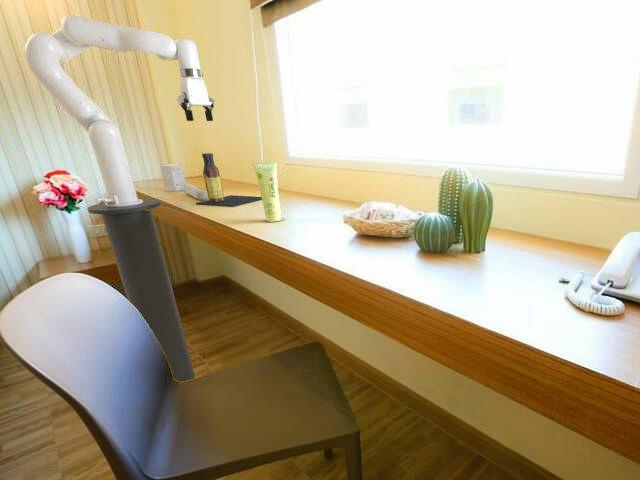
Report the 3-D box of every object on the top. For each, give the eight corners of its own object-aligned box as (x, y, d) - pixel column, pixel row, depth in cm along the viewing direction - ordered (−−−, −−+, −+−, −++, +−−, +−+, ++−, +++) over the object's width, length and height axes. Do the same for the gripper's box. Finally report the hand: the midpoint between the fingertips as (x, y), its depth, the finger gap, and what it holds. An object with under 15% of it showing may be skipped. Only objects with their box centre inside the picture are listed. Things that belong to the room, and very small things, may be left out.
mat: (232, 206, 160) (232, 205, 159) (195, 204, 166) (195, 202, 166) (265, 198, 177) (265, 197, 177) (231, 196, 184) (230, 195, 183)
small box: (177, 189, 210) (171, 163, 205) (187, 189, 208) (181, 163, 204) (165, 191, 202) (159, 165, 197) (176, 191, 201) (170, 165, 196)
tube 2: (268, 223, 131) (259, 162, 124) (261, 221, 134) (252, 161, 127) (284, 220, 135) (276, 161, 127) (277, 218, 138) (268, 160, 131)
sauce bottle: (212, 200, 172) (203, 152, 165) (227, 199, 172) (218, 152, 165) (206, 202, 166) (196, 153, 158) (221, 202, 166) (212, 153, 159)
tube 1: (209, 190, 175) (195, 184, 193) (196, 188, 171) (183, 182, 189) (207, 202, 176) (194, 195, 194) (194, 200, 172) (182, 193, 190)
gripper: (202, 77, 166) (210, 121, 173) (165, 73, 152) (175, 121, 158) (215, 76, 164) (223, 120, 170) (178, 72, 149) (188, 120, 155)
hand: (200, 120), depth 164 cm, fingers open, 9 cm apart
